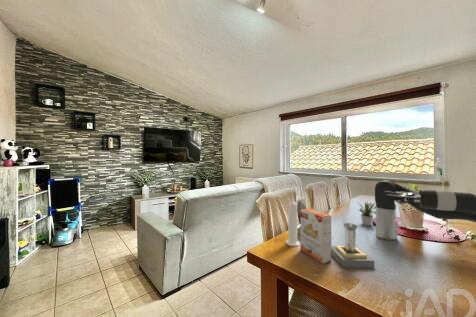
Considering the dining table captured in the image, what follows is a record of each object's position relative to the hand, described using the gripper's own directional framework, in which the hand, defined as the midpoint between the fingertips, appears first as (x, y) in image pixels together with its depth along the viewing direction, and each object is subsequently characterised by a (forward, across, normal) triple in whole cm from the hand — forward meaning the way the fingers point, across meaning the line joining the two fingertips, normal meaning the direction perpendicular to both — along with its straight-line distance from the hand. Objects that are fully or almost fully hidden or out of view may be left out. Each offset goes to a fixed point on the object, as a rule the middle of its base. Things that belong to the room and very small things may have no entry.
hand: (385, 195), depth 85 cm
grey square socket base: (+13, -5, -30) cm, 33 cm away
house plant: (+5, +56, -30) cm, 64 cm away
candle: (+40, -3, -30) cm, 50 cm away
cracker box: (+27, -10, -30) cm, 42 cm away
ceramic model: (+36, +12, -30) cm, 49 cm away
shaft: (+13, -5, -30) cm, 33 cm away
